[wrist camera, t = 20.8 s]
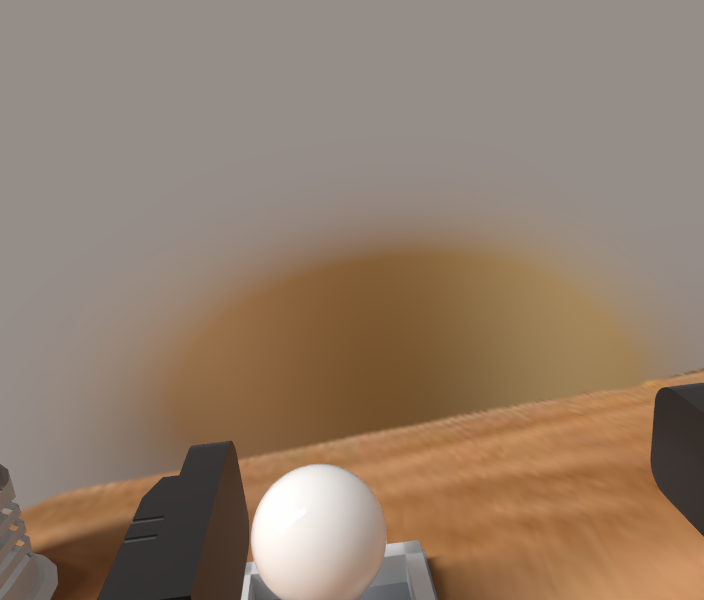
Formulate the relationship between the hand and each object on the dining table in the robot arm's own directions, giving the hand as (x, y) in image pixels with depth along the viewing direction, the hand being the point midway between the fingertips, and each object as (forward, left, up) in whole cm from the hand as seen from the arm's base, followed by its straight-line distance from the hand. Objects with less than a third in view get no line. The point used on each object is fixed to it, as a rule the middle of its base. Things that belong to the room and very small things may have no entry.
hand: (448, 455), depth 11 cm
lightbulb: (-8, -11, -20) cm, 24 cm away
